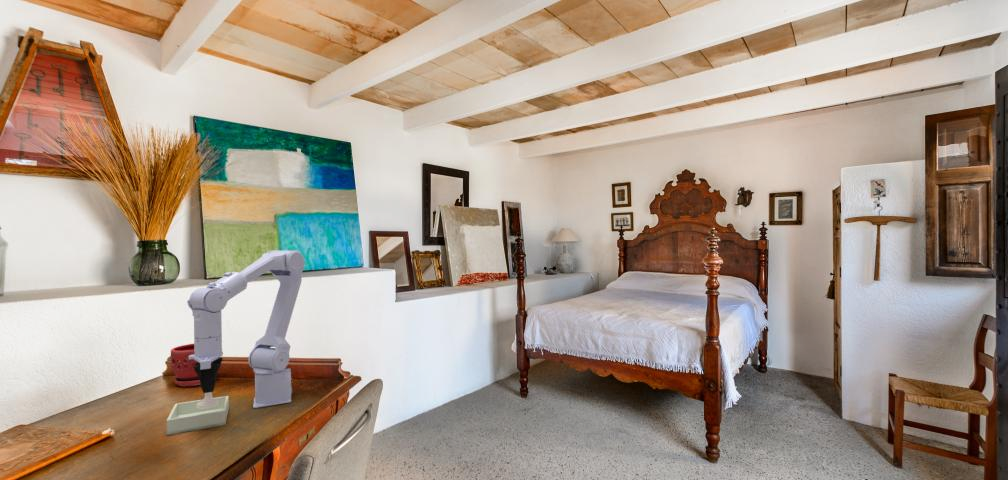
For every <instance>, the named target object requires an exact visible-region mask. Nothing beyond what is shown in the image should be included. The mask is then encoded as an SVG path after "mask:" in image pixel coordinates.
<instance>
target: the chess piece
mask: <svg viewBox="0 0 1008 480" xmlns="http://www.w3.org/2000/svg"><path fill="white" fill-rule="evenodd" d="M214 398H215V397H213V392H208V393H204V397H203V399H202V400H203V401H200V402H199V403H197V406H196V408H198V409H207V408H212V407H216V406H218V405H219V404H220V403H219V402H220V401H219V400H217V399H214Z"/></svg>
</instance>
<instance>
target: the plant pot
mask: <svg viewBox="0 0 1008 480" xmlns="http://www.w3.org/2000/svg"><path fill="white" fill-rule="evenodd" d="M189 355H194V343H188V344H184V345H179V346H175V347H172V348H171V349H170V361H171V362H170V364H171V367H172V371H173V373H174V375H175V376H176V377H175V378H174V381H173V382H174V384H175V385H177V386H180V387H195V386H201V384H200V380H199V377H198V375H197V373H196V372H195V371H194V365H196V362H197V361H196V360H194V359H189Z"/></svg>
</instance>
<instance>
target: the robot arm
mask: <svg viewBox="0 0 1008 480" xmlns="http://www.w3.org/2000/svg"><path fill="white" fill-rule="evenodd" d="M305 264H306V260H305V257H304V256H303V254H302V252H301V251H299V250H295V249H293V250H278V249H277V250H276V249H271V250H268V251H267V252H265V253H262V255H261V257H259V258H258V259H256V260H255V261H254V262H252V263H251V264H249V265H248V266H246V267H245V268H244V269H242V270H241V271H239V272H237V271H226V272H225V273H224V274H223V276H222V277H220V278H219V279H218V280H216V281H212V282H209V283H208V284H207V286H206V287H198V288H196V289H195V290H193V292H192V293H191V294H190V296H189V299H188V300H187V305H188V308H189V309H190V310H191V311H192V317H193V333H194V334H193V340H194V341H193V344H194V355H189V359H194V360H196V361H197V362H196V365H194V371H195V372H196V373H197V375H198V377H199V380H200V384H201V385H200V387H201V392H202V393H203V394H205V393H208V392H212V393H213V392H214V391H215V386H216V382H217V377H218V372H219V370H220V367H221V365H222V362H223V355H224V352H223V339H222V338H223V337H222V336H223V335H222V334H223V333H222V332H223V331H222V330H223V329H222V310H224V309H225V308H226V305H228V301H230V300H231V299H233V298H234V297H236V296H237V295H238V294H240V293H242V292H244V291H245V290H246V289H247V287H248V283H249V282H252V281H253V280H255V279H256V278H258V277H259V276H262V275H263V274H265V273H267V272H270V274H271V275H272V276H273V277H274V278H275V279H277V280H278V282H279V288H278V291H277V294H276V297H275V301H274V304H273V307H272V311H271V313H270V317H269V319H268V320H269V321H268V323H267V327H266V330H265V333H264V335H263V336H262V337H261V338H259V339H258V340H257V341H256V342H255V345H254V347H253V349H252V350H251V351H250V352H249V355H248V360H247V361H248V365H249V366H250V367H251V368H252V372H254V396H255V397H254V398H253V405H252V407H253V409H257V408H265V407H271V406H276V405H277V406H278V405H282V404H287V403H288V404H289V403H292V394H293V387H292V375H291V374H292V373H291V370H292V369H291V368H287V366H288V364H289V363H290V349H291V345H290V344H289V342H288V341H287V340H286V336H287V332H288V329H289V326H290V323H291V319H292V315H293V312H294V308H295V305H296V301H297V297H298V294H299V291H300V288H301V284H302V279H303V278H302V275H303V271H304V268H305V267H304V266H305Z"/></svg>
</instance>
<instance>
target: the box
mask: <svg viewBox="0 0 1008 480" xmlns="http://www.w3.org/2000/svg"><path fill="white" fill-rule="evenodd" d="M229 397H230V396H229V395H225V396H217V397H213V398H214V399H217V400H219V401H220V402H219V403H220V404H219V405H218V406H216V407H212V408H207V409H198V408H196V406H197V403H199V402H200V401H203V399H198V400H192V401H190V400H189V401H183V402H178V403H175V404H174V406H173V407H172V409H171V411H170V412H169V416H168V417H167V419H166V422H165V423H166V436H169V435H170V436H171V435H176V434H181V433H188V432H193V431H199V430H206V429H210V428H211V429H212V428H216V427H222V426H223V427H224V426H226V425H227V419H228V415H229V414H228V413H229V410H230V406H229V405H230V403H229V399H230V398H229Z"/></svg>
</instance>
